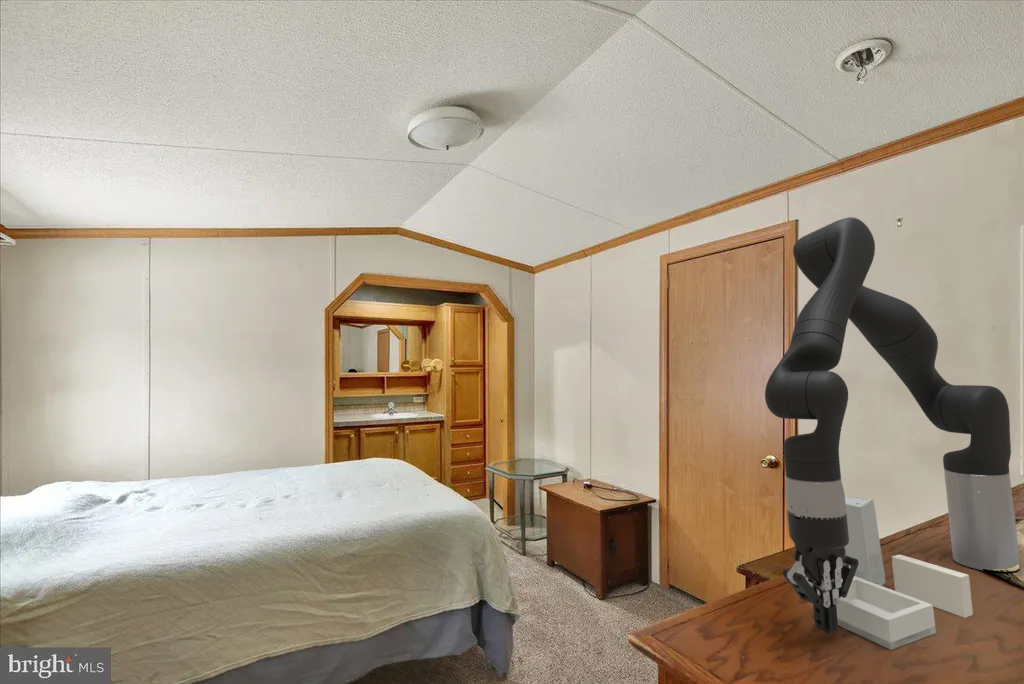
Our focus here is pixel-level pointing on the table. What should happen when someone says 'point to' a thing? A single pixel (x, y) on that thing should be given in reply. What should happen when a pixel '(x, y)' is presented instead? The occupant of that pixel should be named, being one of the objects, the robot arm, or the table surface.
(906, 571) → the wall
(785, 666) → the table surface
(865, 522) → the skincare box
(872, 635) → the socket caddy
